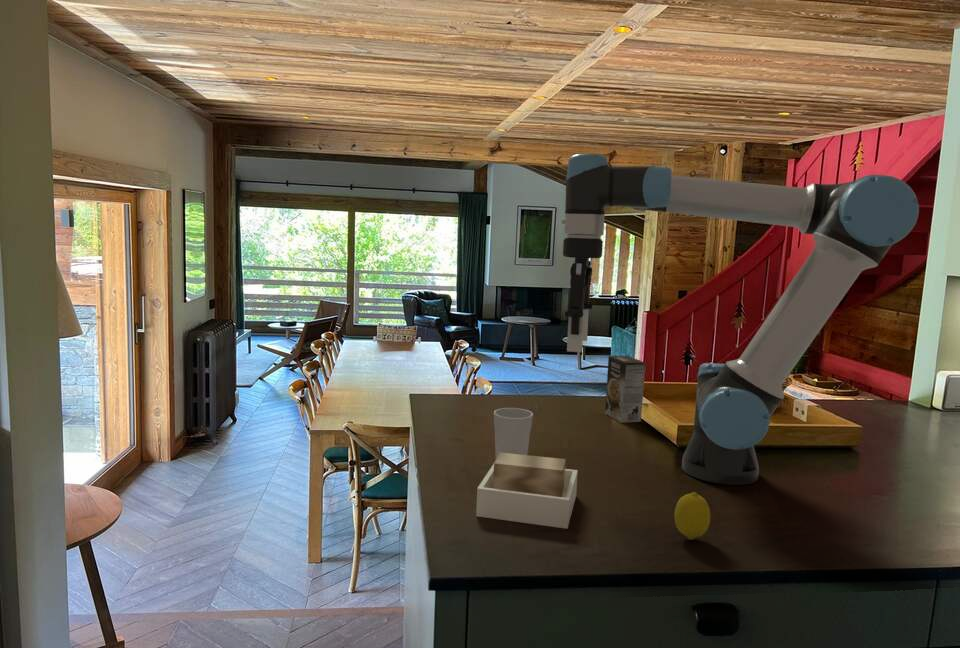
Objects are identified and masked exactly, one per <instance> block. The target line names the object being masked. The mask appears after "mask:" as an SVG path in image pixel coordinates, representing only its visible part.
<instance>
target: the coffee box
mask: <svg viewBox="0 0 960 648" xmlns="http://www.w3.org/2000/svg"><path fill="white" fill-rule="evenodd" d="M607 360H608V361H607V362H608V363H607V377H606V392H605V393H606V395H605V407H604V408H605V409H604V411H605V412H604V414H605V415H607V416H609V417H610V418H612V419H614V420H615V421H617V422H619V423H638V422H639V423H641V422H642V409H643V399H644V389H645V388H644V387H645V386H644V385H645V375H646V374H645V373H646V363H647V362H645V361H642V360H639V359H638V358H637V359H636V358H634V357H631V356H629V355H608V359H607Z"/></svg>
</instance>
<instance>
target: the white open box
mask: <svg viewBox="0 0 960 648" xmlns="http://www.w3.org/2000/svg"><path fill="white" fill-rule="evenodd" d="M578 473H579V472H578V469H571V468H570V469H568V468H565V480H564V489H563V493H562V497H556V496H548V495H540V494H533V493H525V492H517V491H509V490H501V489H493V477H494V463H493V464H492V465H491V467H490V469H489V470H488V472H487V473H486V474H485V476H484V478H483V479H482V480H481V482H480V483H479V485H478V486H477V489H476V511H475V512H476V514H475V515H476V517H479V518H487V519H493V520H494V519H495V520H502V521H508V522H509V521H510V522H514V523H515V522H517V523H524V524H529V525H531V524H532V525H537V526H543V527H544V526H545V527H552V528H561V529H567V530H568V529H569V525H570V520H571V517H572V512H573V510H574V505H575V501H576V498H577V488H578Z"/></svg>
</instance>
